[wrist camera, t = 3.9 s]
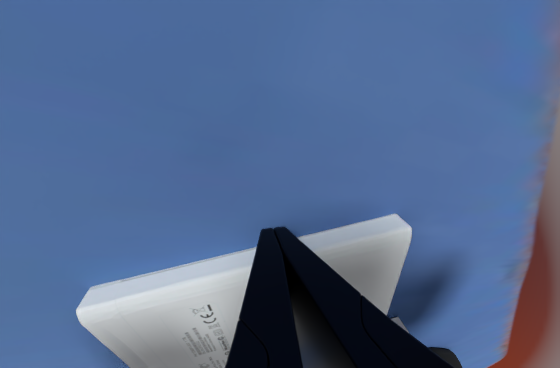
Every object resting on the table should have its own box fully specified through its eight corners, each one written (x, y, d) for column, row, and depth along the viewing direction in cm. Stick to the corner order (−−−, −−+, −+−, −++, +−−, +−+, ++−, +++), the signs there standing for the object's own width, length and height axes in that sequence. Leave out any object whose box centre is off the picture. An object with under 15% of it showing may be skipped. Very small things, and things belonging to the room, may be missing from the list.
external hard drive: (366, 304, 14) (172, 365, 12) (388, 206, 10) (95, 275, 8) (382, 330, 12) (165, 404, 10) (415, 229, 8) (67, 320, 6)
